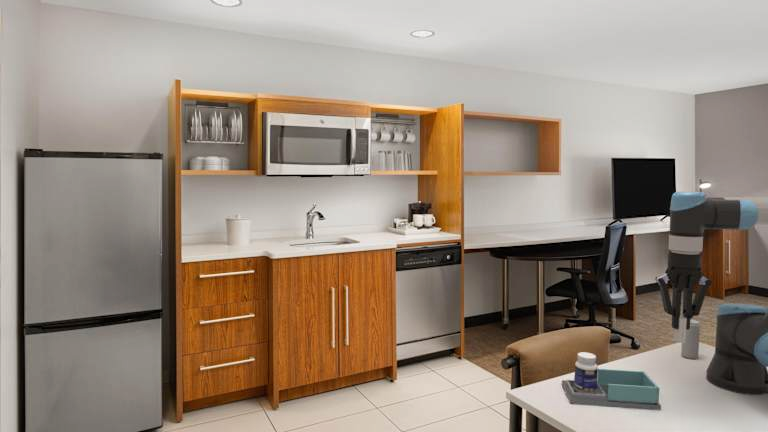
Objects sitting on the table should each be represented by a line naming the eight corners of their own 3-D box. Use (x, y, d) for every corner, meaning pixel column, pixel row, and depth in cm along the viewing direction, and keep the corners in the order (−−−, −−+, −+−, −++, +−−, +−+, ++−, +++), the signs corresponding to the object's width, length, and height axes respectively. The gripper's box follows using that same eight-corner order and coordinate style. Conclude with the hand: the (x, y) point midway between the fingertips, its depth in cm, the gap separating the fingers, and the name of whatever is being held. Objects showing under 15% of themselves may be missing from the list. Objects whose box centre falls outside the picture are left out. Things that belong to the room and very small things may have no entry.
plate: (644, 390, 139) (644, 382, 139) (660, 410, 128) (661, 401, 127) (561, 384, 143) (561, 376, 143) (570, 403, 131) (570, 395, 131)
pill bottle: (586, 396, 132) (587, 360, 131) (569, 388, 137) (570, 353, 136) (601, 392, 135) (602, 356, 134) (584, 384, 140) (585, 349, 139)
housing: (643, 385, 139) (644, 371, 138) (658, 403, 128) (659, 388, 128) (597, 382, 141) (597, 368, 140) (608, 399, 130) (608, 384, 130)
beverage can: (684, 359, 163) (686, 323, 162) (678, 353, 167) (680, 318, 166) (700, 360, 162) (703, 323, 161) (694, 354, 166) (696, 319, 165)
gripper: (705, 250, 132) (700, 337, 134) (652, 248, 134) (647, 335, 136) (720, 254, 124) (714, 347, 126) (663, 253, 126) (658, 344, 128)
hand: (679, 341), depth 131 cm, fingers closed
